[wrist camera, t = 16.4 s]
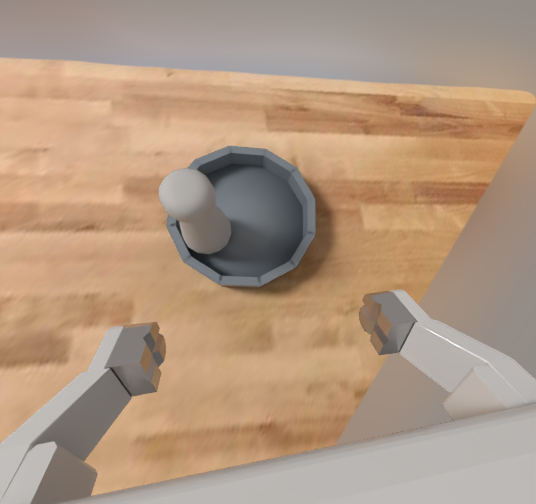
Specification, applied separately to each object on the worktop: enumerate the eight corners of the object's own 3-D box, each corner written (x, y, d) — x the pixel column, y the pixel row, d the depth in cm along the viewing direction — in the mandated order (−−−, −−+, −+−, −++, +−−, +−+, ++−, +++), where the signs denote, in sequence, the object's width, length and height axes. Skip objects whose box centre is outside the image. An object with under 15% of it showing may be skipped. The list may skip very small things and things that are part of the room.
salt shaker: (194, 263, 29) (154, 234, 17) (181, 222, 30) (134, 166, 18) (238, 249, 30) (232, 211, 18) (225, 209, 31) (209, 146, 19)
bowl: (330, 204, 34) (339, 193, 30) (264, 314, 30) (267, 315, 26) (226, 141, 35) (224, 123, 31) (148, 239, 31) (136, 231, 27)
